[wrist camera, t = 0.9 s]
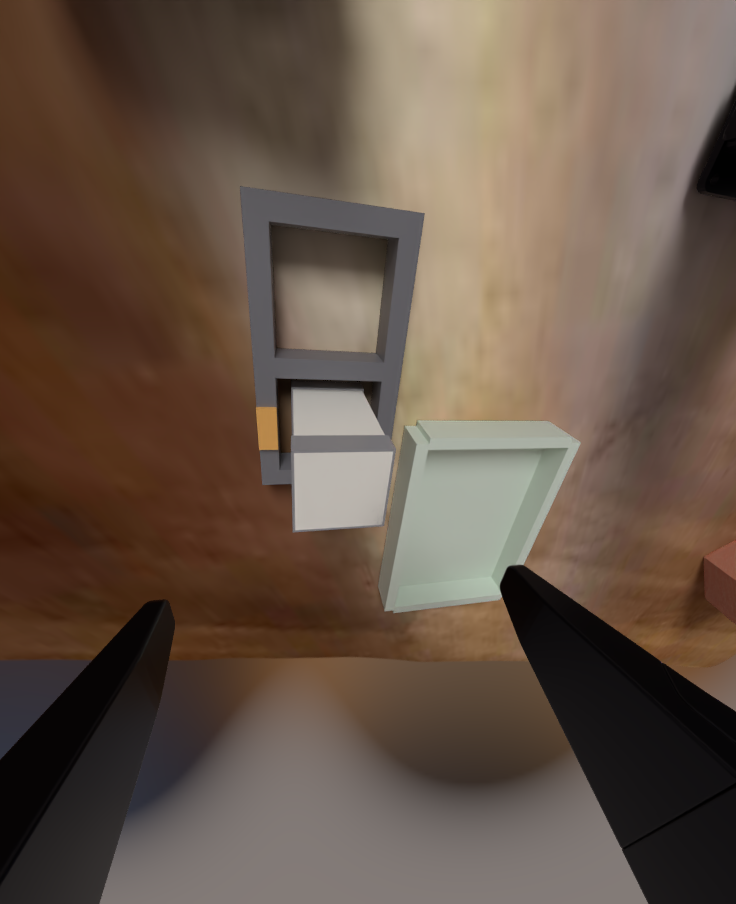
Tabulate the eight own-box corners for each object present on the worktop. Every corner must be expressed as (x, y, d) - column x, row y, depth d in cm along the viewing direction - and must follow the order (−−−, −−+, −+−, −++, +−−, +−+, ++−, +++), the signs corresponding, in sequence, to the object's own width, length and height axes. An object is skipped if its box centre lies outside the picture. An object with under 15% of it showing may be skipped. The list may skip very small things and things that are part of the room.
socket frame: (410, 217, 16) (427, 212, 14) (378, 463, 23) (386, 483, 21) (246, 193, 14) (238, 184, 12) (264, 466, 21) (262, 488, 19)
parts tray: (557, 421, 24) (583, 437, 22) (493, 576, 32) (507, 599, 30) (405, 420, 22) (417, 438, 19) (377, 588, 30) (384, 614, 28)
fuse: (360, 382, 20) (396, 449, 13) (355, 441, 22) (383, 526, 15) (291, 380, 19) (291, 450, 12) (292, 441, 21) (292, 532, 14)
